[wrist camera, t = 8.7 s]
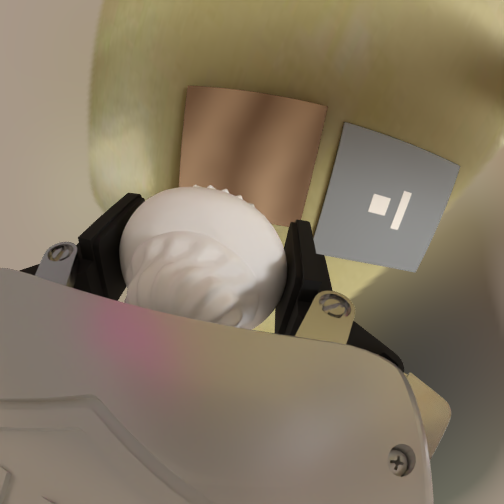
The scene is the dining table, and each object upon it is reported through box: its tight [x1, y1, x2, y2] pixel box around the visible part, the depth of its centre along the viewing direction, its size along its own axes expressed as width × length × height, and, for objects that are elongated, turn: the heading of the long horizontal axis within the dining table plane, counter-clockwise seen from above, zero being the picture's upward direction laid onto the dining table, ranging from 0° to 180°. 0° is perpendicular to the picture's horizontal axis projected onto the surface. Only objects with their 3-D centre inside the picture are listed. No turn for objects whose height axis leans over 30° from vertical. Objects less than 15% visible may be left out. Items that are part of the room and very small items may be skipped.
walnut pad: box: [179, 86, 328, 227], centre depth 24 cm, size 12×12×1 cm
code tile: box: [313, 122, 460, 272], centre depth 26 cm, size 14×14×1 cm
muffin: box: [119, 185, 287, 330], centre depth 10 cm, size 6×6×7 cm
